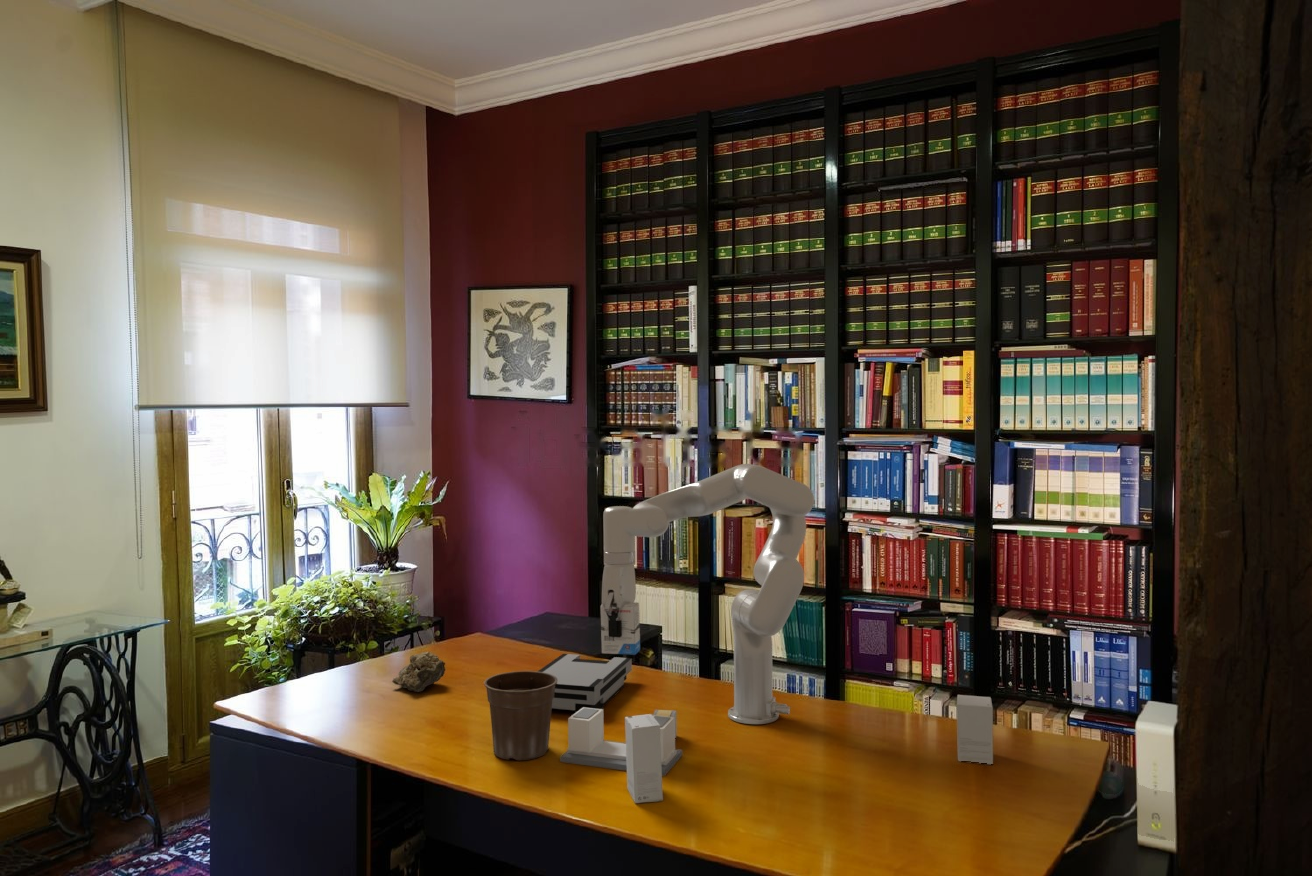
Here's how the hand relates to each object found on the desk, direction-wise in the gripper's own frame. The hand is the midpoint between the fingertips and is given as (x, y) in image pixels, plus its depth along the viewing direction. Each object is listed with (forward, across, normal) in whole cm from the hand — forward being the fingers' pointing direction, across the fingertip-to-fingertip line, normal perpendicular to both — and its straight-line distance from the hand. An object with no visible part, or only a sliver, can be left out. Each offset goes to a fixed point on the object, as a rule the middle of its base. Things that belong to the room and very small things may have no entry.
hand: (620, 633), depth 214 cm
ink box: (+5, 0, 0) cm, 5 cm away
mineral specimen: (+23, -10, -68) cm, 72 cm away
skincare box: (+23, +32, +20) cm, 44 cm away
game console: (+24, -19, -22) cm, 38 cm away
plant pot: (+23, +21, -15) cm, 35 cm away
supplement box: (+24, -12, +79) cm, 84 cm away
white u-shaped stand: (+23, +17, +8) cm, 30 cm away
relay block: (+23, +2, +12) cm, 26 cm away
